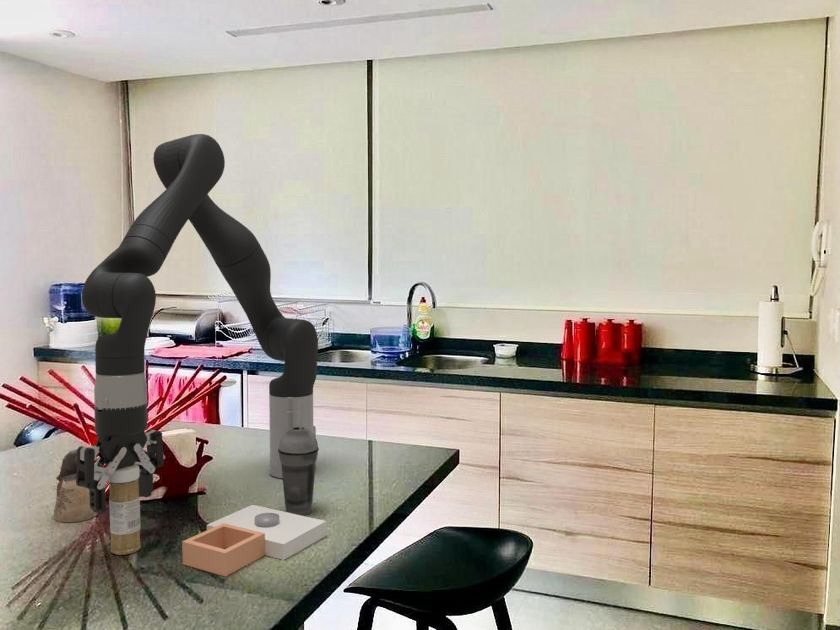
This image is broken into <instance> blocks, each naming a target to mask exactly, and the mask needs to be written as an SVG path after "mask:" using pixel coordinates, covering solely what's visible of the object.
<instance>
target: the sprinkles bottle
mask: <svg viewBox="0 0 840 630" xmlns="http://www.w3.org/2000/svg"><path fill="white" fill-rule="evenodd" d="M139 473H140V471H139V466H138V465H137V464H133V465H126V466H124V467H123V468H120V469H116V470H115V472H114V474H113V475H112V476H110V477H109V478H108V480H107V482H108V484H109V485H108V487H109V489H108V490H109V499H108V500H109V504H108V505H109V506H108V507H109V532H110V553H112V554H114V555H119V556H122V555H124V556H125V555H129V554H134V553H136V552H138V551H139V550H140V549H141V547H142V542H141V501H140V499H141V498H140V497H141V496H140V495H139V483H138V480H139V476H140V474H139Z"/></svg>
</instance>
